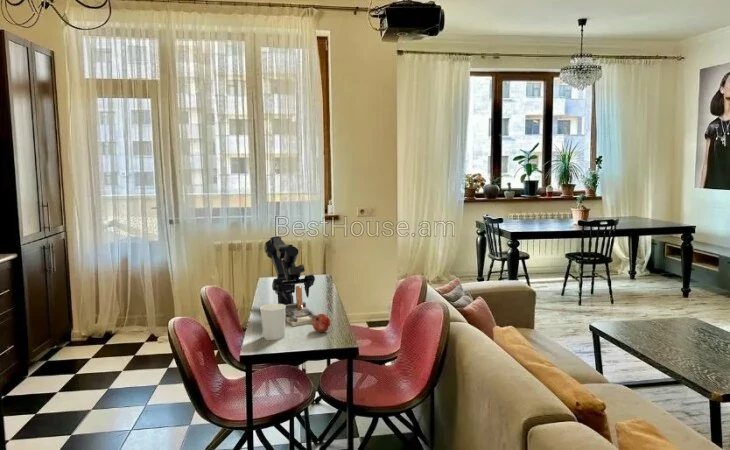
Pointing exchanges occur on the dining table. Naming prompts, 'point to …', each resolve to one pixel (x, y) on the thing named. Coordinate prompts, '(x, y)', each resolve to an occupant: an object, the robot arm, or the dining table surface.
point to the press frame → (300, 319)
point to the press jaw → (299, 304)
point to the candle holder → (273, 321)
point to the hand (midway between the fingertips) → (297, 298)
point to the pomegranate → (321, 323)
